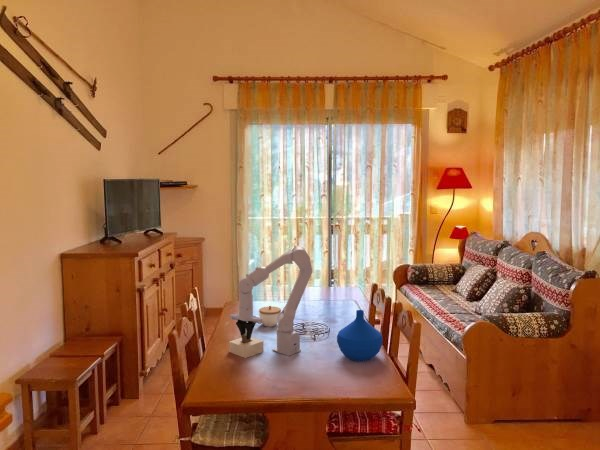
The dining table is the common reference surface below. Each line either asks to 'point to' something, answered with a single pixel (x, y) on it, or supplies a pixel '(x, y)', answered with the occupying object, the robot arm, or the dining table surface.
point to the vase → (359, 339)
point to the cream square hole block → (246, 347)
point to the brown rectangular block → (245, 338)
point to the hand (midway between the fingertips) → (246, 338)
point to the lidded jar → (269, 315)
